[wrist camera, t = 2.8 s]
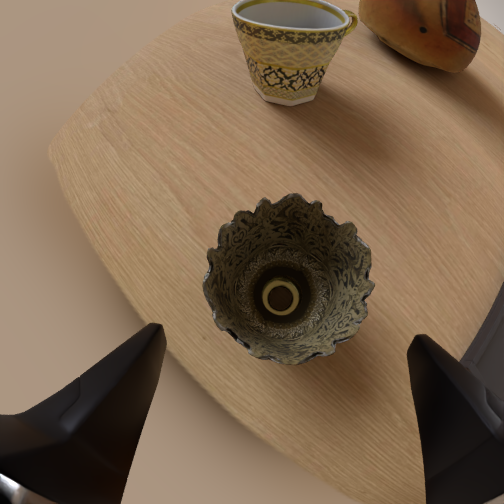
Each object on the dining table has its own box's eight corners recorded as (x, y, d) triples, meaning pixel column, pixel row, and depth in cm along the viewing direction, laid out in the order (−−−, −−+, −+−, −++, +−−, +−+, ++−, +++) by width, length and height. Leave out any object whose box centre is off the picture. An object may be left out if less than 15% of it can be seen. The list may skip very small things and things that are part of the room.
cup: (352, 291, 19) (404, 263, 11) (286, 373, 17) (303, 399, 10) (273, 227, 20) (279, 166, 13) (205, 303, 19) (168, 281, 11)
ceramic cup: (266, 130, 23) (267, 37, 14) (224, 76, 26) (214, 2, 16) (370, 100, 24) (395, 29, 15) (319, 54, 27) (328, -9, 18)
